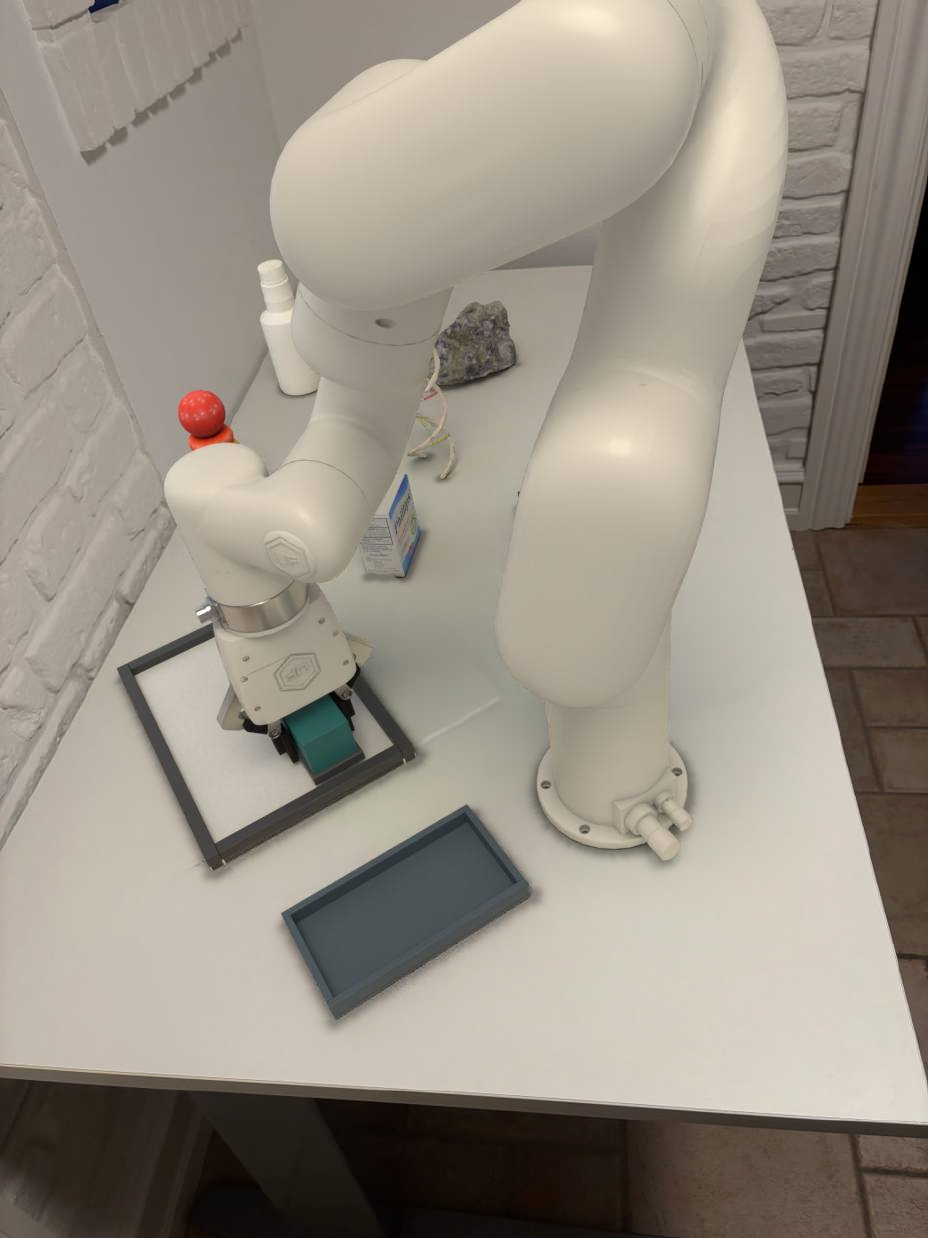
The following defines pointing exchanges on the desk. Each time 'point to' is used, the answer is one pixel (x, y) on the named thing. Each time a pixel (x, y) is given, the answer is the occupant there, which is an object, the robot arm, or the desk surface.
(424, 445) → the dna model
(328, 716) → the eraser
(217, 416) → the stacking toy
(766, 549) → the desk surface
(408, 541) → the medicine box
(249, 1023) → the desk surface
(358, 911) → the tray
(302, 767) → the whiteboard
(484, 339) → the mineral rock
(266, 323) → the spray bottle
